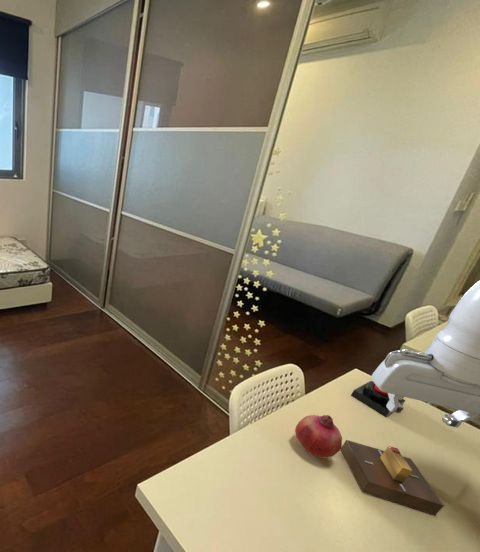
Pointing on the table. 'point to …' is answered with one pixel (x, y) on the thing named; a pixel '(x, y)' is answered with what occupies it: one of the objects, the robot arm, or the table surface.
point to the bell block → (373, 398)
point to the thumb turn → (396, 464)
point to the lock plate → (389, 479)
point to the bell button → (380, 390)
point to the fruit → (319, 435)
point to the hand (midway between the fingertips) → (420, 417)
